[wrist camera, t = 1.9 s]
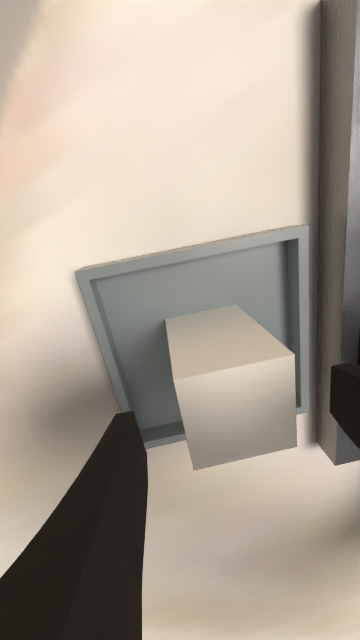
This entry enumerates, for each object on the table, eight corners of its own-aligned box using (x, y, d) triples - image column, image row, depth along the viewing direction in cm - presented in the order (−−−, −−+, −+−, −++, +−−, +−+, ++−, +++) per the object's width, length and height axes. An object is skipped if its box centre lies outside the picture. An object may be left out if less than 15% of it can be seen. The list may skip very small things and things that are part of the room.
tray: (295, 396, 17) (308, 411, 15) (136, 432, 16) (134, 451, 15) (291, 225, 13) (308, 224, 11) (83, 267, 12) (74, 271, 11)
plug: (242, 366, 15) (296, 446, 9) (178, 380, 15) (193, 470, 9) (236, 304, 14) (294, 354, 8) (165, 319, 13) (173, 380, 8)
